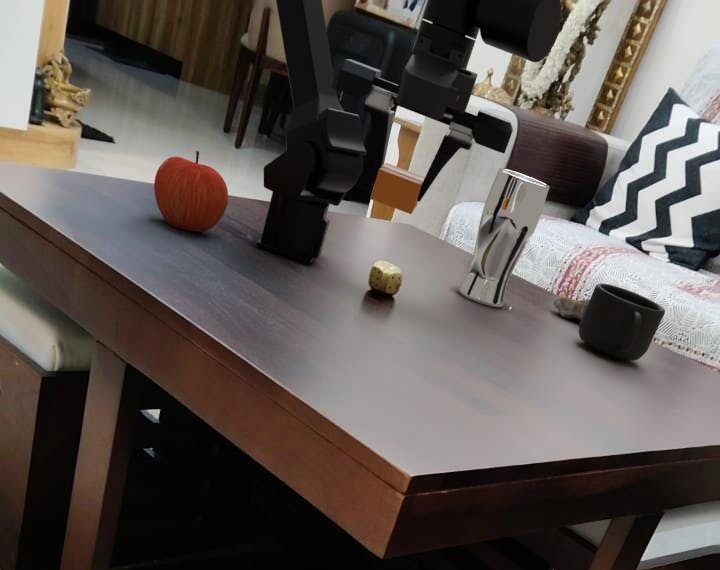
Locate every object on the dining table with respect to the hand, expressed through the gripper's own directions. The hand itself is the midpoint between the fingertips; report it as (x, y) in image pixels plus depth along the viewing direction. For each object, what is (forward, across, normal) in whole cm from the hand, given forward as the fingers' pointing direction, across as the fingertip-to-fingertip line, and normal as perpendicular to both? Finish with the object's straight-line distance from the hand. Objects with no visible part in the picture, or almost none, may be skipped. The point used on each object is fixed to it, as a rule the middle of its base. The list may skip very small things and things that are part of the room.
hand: (396, 192), depth 106 cm
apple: (+11, -21, 0) cm, 24 cm away
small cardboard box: (+1, 0, 0) cm, 1 cm away
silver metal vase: (+11, +13, +18) cm, 25 cm away
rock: (+11, +29, +27) cm, 41 cm away
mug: (+11, +30, +12) cm, 34 cm away
